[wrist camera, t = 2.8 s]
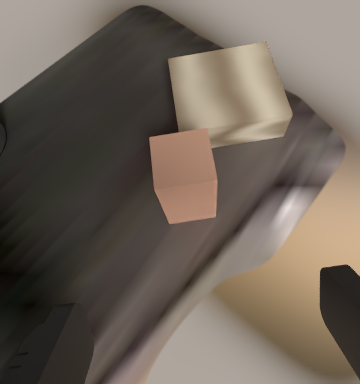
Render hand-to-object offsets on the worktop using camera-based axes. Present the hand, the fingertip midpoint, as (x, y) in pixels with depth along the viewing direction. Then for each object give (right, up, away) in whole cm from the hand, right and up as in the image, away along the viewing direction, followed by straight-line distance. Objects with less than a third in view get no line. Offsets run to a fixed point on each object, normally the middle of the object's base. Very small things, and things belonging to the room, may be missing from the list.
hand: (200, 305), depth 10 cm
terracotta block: (0, +3, +22) cm, 22 cm away
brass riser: (+5, +14, +26) cm, 30 cm away
